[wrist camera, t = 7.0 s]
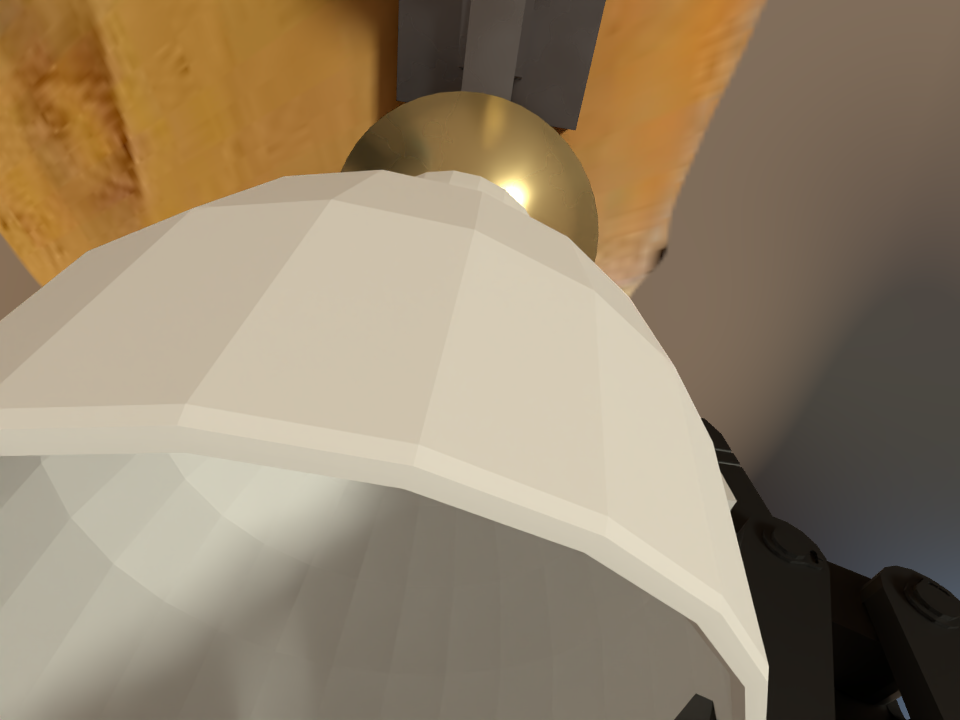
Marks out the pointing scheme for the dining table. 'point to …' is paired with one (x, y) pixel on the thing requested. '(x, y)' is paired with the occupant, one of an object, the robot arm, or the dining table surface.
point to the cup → (358, 475)
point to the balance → (494, 102)
